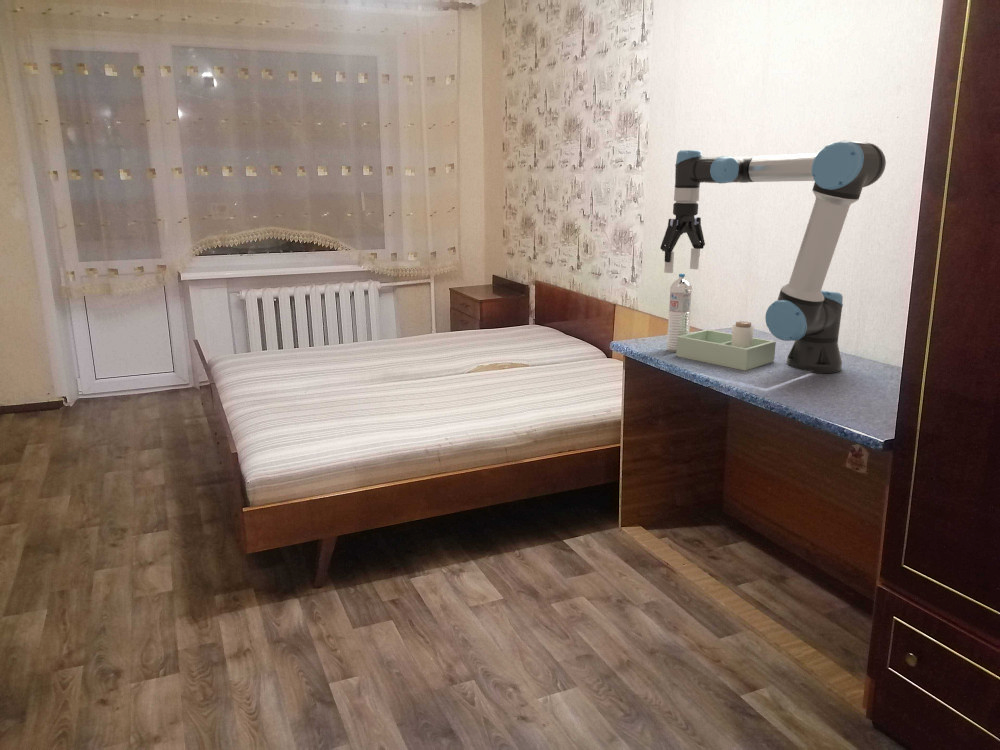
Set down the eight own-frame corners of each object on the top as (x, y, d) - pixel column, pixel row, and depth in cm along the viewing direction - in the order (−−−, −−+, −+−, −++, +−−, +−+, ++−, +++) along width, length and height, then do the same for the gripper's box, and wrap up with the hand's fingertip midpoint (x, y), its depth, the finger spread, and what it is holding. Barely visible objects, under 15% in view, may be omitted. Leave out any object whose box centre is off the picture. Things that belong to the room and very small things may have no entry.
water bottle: (690, 353, 242) (695, 275, 235) (668, 353, 242) (673, 275, 235) (685, 348, 248) (690, 272, 242) (664, 348, 248) (668, 272, 242)
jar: (754, 362, 227) (758, 322, 224) (743, 365, 223) (747, 325, 220) (736, 358, 231) (740, 320, 228) (726, 361, 227) (729, 322, 224)
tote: (773, 363, 228) (775, 341, 226) (745, 373, 217) (747, 349, 216) (705, 350, 245) (706, 329, 243) (676, 358, 235) (677, 336, 233)
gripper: (699, 200, 243) (694, 266, 249) (651, 202, 227) (647, 273, 233) (719, 201, 238) (714, 268, 244) (671, 203, 222) (667, 275, 228)
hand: (681, 270), depth 238 cm, fingers open, 13 cm apart
